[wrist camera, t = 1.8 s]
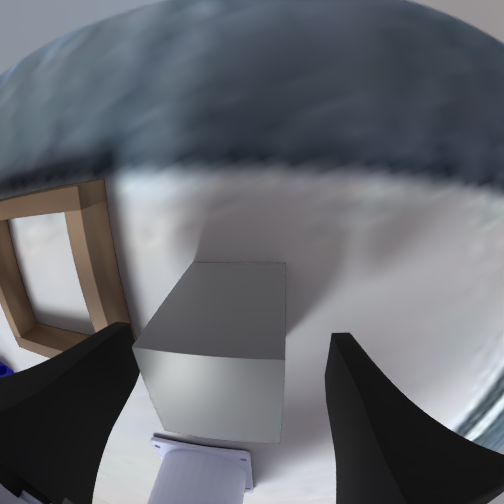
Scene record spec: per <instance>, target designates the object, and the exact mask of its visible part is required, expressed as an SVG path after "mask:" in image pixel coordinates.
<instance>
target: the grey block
mask: <svg viewBox="0 0 504 504" xmlns="http://www.w3.org/2000/svg"><path fill="white" fill-rule="evenodd" d="M285 328H286V301H285V263H230V262H192V264H191V265H190V266H189V268H188V269H187V270H186V272H185V273H184V274H183V276H182V277H181V278H180V280H179V281H178V283H177V284H176V285H175V287H174V288H173V289H172V291H171V292H170V293H169V295H168V296H167V298H166V299H165V300H164V302H163V303H162V305H161V306H160V307H159V309H158V310H157V312H156V313H155V314H154V316H153V317H152V319H151V320H150V321H149V323H148V324H147V326H146V327H145V328H144V330H143V331H142V333H141V334H140V336H139V337H138V338H137V340H136V341H135V343H134V344H133V346H132V349H133V352H134V355H135V358H136V361H137V364H138V367H139V370H140V372H141V375H142V378H143V380H144V383H145V386H146V388H147V391H148V393H149V396H150V398H151V401H152V403H153V405H154V408H155V410H156V412H157V415H158V417H159V419H160V421H161V424H162V426H163V428H164V430H165V431H169V432H174V433H179V434H185V435H191V436H197V437H204V438H212V439H220V440H230V441H241V442H255V443H280V435H281V422H282V407H283V391H284V374H285Z"/></svg>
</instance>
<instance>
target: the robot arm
mask: <svg viewBox="0 0 504 504" xmlns="http://www.w3.org/2000/svg"><path fill="white" fill-rule="evenodd" d="M134 343H135V338H134V335H133V331H132V328H131V325H130V323H125V322H118V321H117V322H115V323H112V324H110V325H109V326H107V327H105V328H103V329H101V330H100V331H98V332H96V333H95V334H93V335H91V336H90V337H88V338H86V339H84V340H83V341H81V342H79V343H78V344H76V345H74V346H73V347H71V348H69V349H67V350H65V351H64V352H62V353H60V354H58V355H56V356H54V357H53V358H51V359H49V360H47V361H44V362H42V363H40V364H38V365H36V366H33V367H31V368H28V369H26V370H23V371H20V372H17V373H14V374H11V375H8V376H4V377H0V504H50V503H51V504H92V499H93V492H94V487H95V482H96V477H97V472H98V469H99V465H100V462H101V458H102V455H103V452H104V449H105V446H106V443H107V440H108V437H109V435H110V433H111V431H112V428H113V426H114V424H115V422H116V421H117V419H118V417H119V415H120V413H121V411H122V409H123V407H124V406H125V404H126V402H127V400H128V398H129V396H130V394H131V392H132V390H133V388H134V386H135V384H136V382H137V379H138V376H139V374H140V370H139V367H138V364H137V361H136V358H135V355H134V352H133V349H132V346H133V344H134ZM325 390H326V403H327V409H328V414H329V420H330V426H331V432H332V438H333V444H334V450H335V459H336V504H487V503H489V502H490V501H491V500H493V499H494V498H496V497H497V496H498V495H500V494H501V493H502V492H504V455H503V454H500V453H498V452H495V451H492V450H490V449H487V448H485V447H482V446H480V445H478V444H475V443H473V442H471V441H469V440H468V439H466V438H464V437H462V436H460V435H458V434H456V433H455V432H453V431H451V430H450V429H448V428H447V427H445V426H444V425H442V424H441V423H439V422H438V421H436V420H435V419H433V418H432V417H430V416H429V415H428V414H426V413H425V412H424V411H423V410H421V409H420V408H419V407H418V406H417V405H415V404H414V403H413V402H412V401H411V400H409V399H408V398H407V397H406V396H405V395H404V394H403V393H402V392H401V391H400V390H399V389H398V388H397V387H396V386H395V385H394V384H393V383H392V382H391V381H390V380H389V379H388V378H387V377H386V376H385V375H384V373H383V372H382V371H381V370H380V369H379V368H378V367H377V366H376V364H375V363H374V362H373V361H372V360H371V358H370V357H369V356H368V355H367V354H366V352H365V351H364V350H363V349H362V347H361V346H360V345H359V344H358V342H357V341H356V340H355V338H354V337H353V336H352V335H351V334H350V333H332V335H331V342H330V348H329V354H328V360H327V366H326V372H325ZM150 442H151V444H152V445H153V447H154V449H155V450H156V452H157V454H158V455H159V457H160V459H161V460H162V464H161V467H160V469H159V472H158V475H157V478H156V481H155V483H154V486H153V489H152V492H151V495H150V497H149V500H148V503H147V504H242V503H243V497H244V493H253V490H254V488H253V478H252V467H251V456H250V453H249V452H247V451H243V450H232V449H222V448H214V447H206V446H200V445H193V444H187V443H182V442H176V441H171V440H166V439H162V438H157V437H152V438H151V440H150Z"/></svg>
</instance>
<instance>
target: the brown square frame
mask: <svg viewBox="0 0 504 504" xmlns="http://www.w3.org/2000/svg"><path fill="white" fill-rule="evenodd" d="M60 212H65V219H66V224H67V230H68V235H69V240H70V245H71V249H72V254H73V258H74V262H75V266H76V270H77V274H78V278H79V282H80V286H81V289H82V293H83V296H84V299H85V303H86V306H87V309H88V312H89V315H90V318H91V321H92V324H93V327H94V330H95V333H96V332H98V331H100V330H101V329H103V328H105V327H107V326H109V325H110V324H112V323H115V322H117V321H118V322H125V323H130V325H131V328H132V331H133V335H134V338H135V341H136V337H135V334H134V330H133V327H132V323H131V320H130V316H129V313H128V309H127V305H126V301H125V297H124V293H123V289H122V285H121V280H120V276H119V271H118V266H117V262H116V257H115V251H114V246H113V241H112V235H111V229H110V222H109V216H108V209H107V201H106V193H105V184H104V179H100V180H94V181H88V182H82V183H76V184H70V185H65V186H59V187H54V188H49V189H44V190H39V191H35V192H30V193H26V194H21V195H17V196H13V197H9V198H5V199H1V200H0V303H1V306H2V309H3V311H4V314H5V316H6V319H7V321H8V323H9V326H10V328H11V330H12V332H13V335H14V337H15V339H16V341H17V343H18V345H19V347H21V348H24V349H26V350H29V351H32V352H34V353H37V354H40V355H43V356H45V357H48V358H53V357H54V356H56V355H58V354H60V353H62V352H64V351H65V350H67V349H69V348H71V347H73V346H74V345H76V344H78V343H79V342H81V341H83V340H84V339H86V338H88V337H90V336H91V335H86V334H81V333H76V332H71V331H67V330H63V329H58V328H54V327H50V326H46V325H42V324H38V323H37V322H36V319H35V317H34V314H33V311H32V309H31V306H30V303H29V300H28V298H27V295H26V292H25V289H24V286H23V282H22V279H21V276H20V273H19V269H18V266H17V262H16V258H15V254H14V250H13V246H12V242H11V238H10V233H9V228H8V223H7V219H13V218H20V217H27V216H35V215H43V214H51V213H60Z"/></svg>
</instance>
